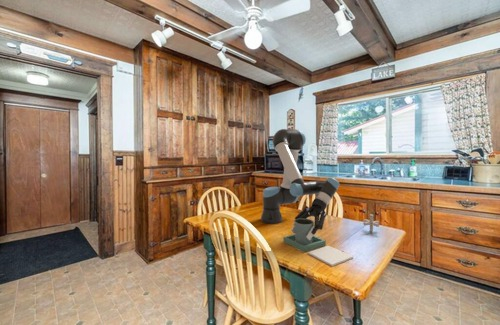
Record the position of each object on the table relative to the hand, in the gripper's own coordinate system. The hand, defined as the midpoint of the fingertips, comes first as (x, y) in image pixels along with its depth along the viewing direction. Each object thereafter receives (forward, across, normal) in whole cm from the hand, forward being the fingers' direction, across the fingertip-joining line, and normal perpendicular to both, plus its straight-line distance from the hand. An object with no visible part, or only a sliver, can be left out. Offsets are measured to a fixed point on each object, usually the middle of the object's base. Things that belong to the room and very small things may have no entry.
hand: (299, 235), depth 117 cm
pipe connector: (-32, -8, -39) cm, 51 cm away
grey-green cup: (+2, 0, -6) cm, 6 cm away
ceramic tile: (+1, -17, -6) cm, 18 cm away
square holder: (+1, 0, -6) cm, 6 cm away
